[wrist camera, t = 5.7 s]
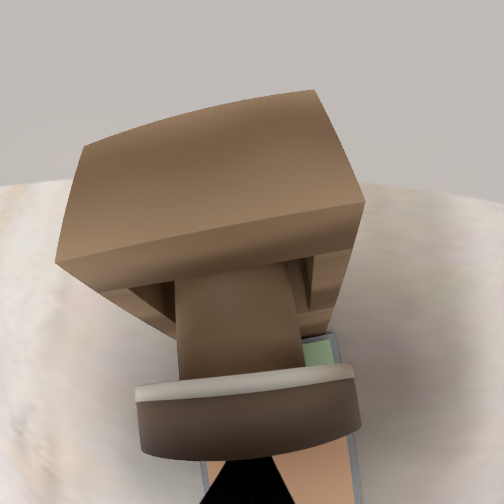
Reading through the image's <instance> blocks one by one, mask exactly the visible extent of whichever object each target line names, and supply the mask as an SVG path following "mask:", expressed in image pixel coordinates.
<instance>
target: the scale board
mask: <svg viewBox="0 0 504 504" xmlns="http://www.w3.org/2000/svg"><path fill="white" fill-rule="evenodd" d="M301 341H302V347H303V353H304V359H305V365H306V367H309V366H317V365H326V364H337V363H341V358H340V353H339V348H338V343H337V338H336V333H332V334H327V335H322V336H317V337H312V338H307V339H302V340H301ZM272 458H273V460H274V462H275V464H276V466H277V468H278V470H279V472H280V474H281V476H282V478H283V480H284V482H285V484H286V486H287V488H288V490H289V492H290V494H291V496H292V498H293V500H294V502H295V503H296V504H362V499H361V489H360V480H359V472H358V464H357V456H356V449H355V442H354V435H353V433H351V434H349V435H347V436H344V437H342V438H339V439H337V440H334V441H331V442H328V443H325V444H322V445H319V446H315V447H312V448H308V449H304V450H300V451H295V452H291V453H286V454H281V455H275V456H272ZM225 462H226V461H200V464H201V471H202V478H203V484H204V490H205V494H206V493H207V491H208V490H209V488H210V486H211V485H212V483H213V482H214V480H215V478H216V477H217V475H218V474H219V472H220V470H221V469H222V467H223V465H224V464H225Z"/></svg>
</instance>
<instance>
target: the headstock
mask: <svg viewBox="0 0 504 504" xmlns="http://www.w3.org/2000/svg"><path fill="white" fill-rule="evenodd" d="M364 205H365V199H364V197H363V194H362V192H361V189H360V187H359V184H358V182H357V179H356V177H355V175H354V172H353V170H352V168H351V165H350V163H349V161H348V158H347V156H346V154H345V152H344V149H343V147H342V145H341V143H340V141H339V138H338V136H337V134H336V132H335V130H334V128H333V126H332V124H331V122H330V120H329V117H328V115H327V113H326V112H325V110H324V107H323V105H322V103H321V102H320V100H319V98H318V96H317V94H316V92H315V90H306V91H299V92H291V93H284V94H277V95H271V96H265V97H259V98H253V99H248V100H242V101H238V102H232V103H228V104H223V105H218V106H214V107H209V108H205V109H201V110H197V111H193V112H189V113H185V114H181V115H178V116H174V117H170V118H167V119H163V120H160V121H156V122H153V123H150V124H146V125H143V126H140V127H137V128H134V129H131V130H128V131H125V132H122V133H119V134H116V135H113V136H110V137H108V138H105V139H102V140H99V141H97V142H94V143H92V144H89V145H86V146H84V148H83V151H82V154H81V157H80V160H79V163H78V167H77V170H76V173H75V177H74V180H73V184H72V187H71V191H70V195H69V198H68V202H67V206H66V210H65V215H64V219H63V223H62V228H61V233H60V237H59V242H58V248H57V253H56V259H55V263H56V264H57V265H58V266H60V267H61V268H63V269H64V270H65V271H67V272H68V273H70V274H71V275H72V276H74V277H75V278H77V279H78V280H80V281H81V282H83V283H84V284H85V285H87V286H88V287H90V288H91V289H93V290H94V291H96V292H97V293H99V294H100V295H102V296H103V297H105V298H107V299H108V300H110V301H111V302H113V303H114V304H116V305H118V306H119V307H121V308H122V309H124V310H126V311H127V312H129V313H130V314H132V315H134V316H135V317H137V318H139V319H140V320H142V321H144V322H145V323H147V324H149V325H151V326H152V327H154V328H156V329H157V330H159V331H161V332H163V333H164V334H166V335H168V336H170V337H172V338H173V339H175V340H177V334H176V313H175V284H174V280H180V279H186V278H192V277H198V276H204V275H209V274H215V273H221V272H227V271H232V270H238V269H244V268H249V267H255V266H261V265H266V264H272V263H277V262H283V261H287V265H288V270H289V276H290V281H291V286H292V291H293V297H294V302H295V308H296V313H297V319H298V324H299V330H300V336H301V338H304V337H309V336H315V335H320V334H325V332H326V329H327V326H328V323H329V320H330V317H331V315H332V312H333V309H334V306H335V303H336V300H337V297H338V294H339V291H340V288H341V285H342V281H343V278H344V275H345V272H346V269H347V265H348V262H349V259H350V255H351V252H352V249H353V245H354V242H355V238H356V235H357V231H358V227H359V224H360V220H361V216H362V213H363V209H364Z"/></svg>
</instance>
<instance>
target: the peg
mask: <svg viewBox="0 0 504 504" xmlns="http://www.w3.org/2000/svg"><path fill="white" fill-rule="evenodd" d="M174 284H175V313H176V334H177V351H178V365H179V378H180V381H173V382H163V383H155V384H148V385H142V386H138V387H135V388H134V396H135V403H137V412H138V423H139V433H140V442H141V450H142V451H143V452H144V453H146V454H149V455H152V456H156V457H161V458H167V459H174V460H186V461H231V460H244V459H254V458H262V457H269V456H275V455H281V454H286V453H291V452H295V451H300V450H304V449H308V448H312V447H315V446H319V445H322V444H325V443H328V442H331V441H334V440H337V439H339V438H342V437H344V436H347V435H349V434H351V433H353V432H354V431H356V430H357V429H359V428H360V427H361V419H360V413H359V407H358V401H357V395H356V389H355V384H354V378H355V374H354V369H353V364H351V363H337V364H326V365H317V366H309V367H306V365H305V359H304V353H303V347H302V341H301V336H300V330H299V324H298V319H297V313H296V308H295V302H294V297H293V291H292V286H291V281H290V276H289V270H288V265H287V261H283V262H277V263H272V264H266V265H261V266H255V267H249V268H244V269H238V270H232V271H227V272H221V273H215V274H209V275H204V276H198V277H192V278H186V279H180V280H174Z"/></svg>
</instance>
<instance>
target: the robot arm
mask: <svg viewBox="0 0 504 504" xmlns="http://www.w3.org/2000/svg"><path fill="white" fill-rule="evenodd" d="M199 504H296V503H295V502H294V500H293V498H292V496H291V494H290V492H289V490H288V488H287V486H286V484H285V482H284V480H283V478H282V476H281V474H280V472H279V470H278V468H277V466H276V464H275V462H274V460H273V458H272V456H269V457H262V458H254V459H244V460H231V461H226V462H225V464H224V465H223V467H222V469H221V470H220V472H219V474H218V475H217V477H216V478H215V480H214V482H213V483H212V485H211V486H210V488H209V490H208V491H207V493H206V494H205V496H204V497H203V499H202V500H201V502H200V503H199Z"/></svg>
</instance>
